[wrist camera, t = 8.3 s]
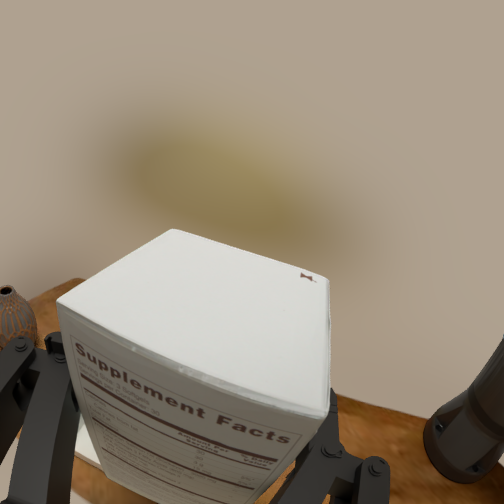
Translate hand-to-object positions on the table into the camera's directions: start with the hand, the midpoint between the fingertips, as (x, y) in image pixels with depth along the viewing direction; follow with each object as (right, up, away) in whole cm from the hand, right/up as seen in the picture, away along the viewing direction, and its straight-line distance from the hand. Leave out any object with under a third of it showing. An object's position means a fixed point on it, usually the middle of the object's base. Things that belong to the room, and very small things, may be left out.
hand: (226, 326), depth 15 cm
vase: (-30, -9, +13) cm, 34 cm away
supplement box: (-3, -9, -2) cm, 9 cm away
